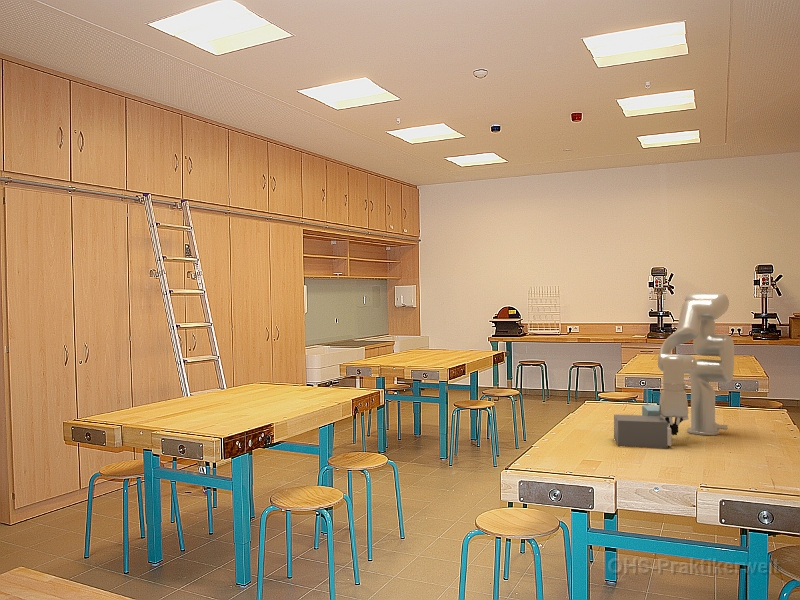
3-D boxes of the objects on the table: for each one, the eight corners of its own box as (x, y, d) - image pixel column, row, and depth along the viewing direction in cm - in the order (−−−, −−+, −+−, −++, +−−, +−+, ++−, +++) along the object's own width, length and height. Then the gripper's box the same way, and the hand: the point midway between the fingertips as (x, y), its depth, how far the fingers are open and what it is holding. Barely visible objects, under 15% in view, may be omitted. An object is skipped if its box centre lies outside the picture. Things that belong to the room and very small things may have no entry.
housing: (660, 440, 272) (660, 416, 272) (667, 448, 257) (667, 422, 257) (613, 438, 276) (613, 414, 276) (618, 446, 261) (618, 420, 261)
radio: (671, 440, 274) (671, 391, 274) (647, 439, 275) (647, 390, 276) (664, 433, 289) (664, 386, 289) (641, 432, 291) (642, 386, 291)
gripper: (691, 386, 266) (691, 433, 266) (651, 386, 269) (652, 432, 269) (696, 389, 259) (696, 437, 259) (655, 388, 261) (655, 436, 262)
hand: (673, 434), depth 264 cm, fingers closed
